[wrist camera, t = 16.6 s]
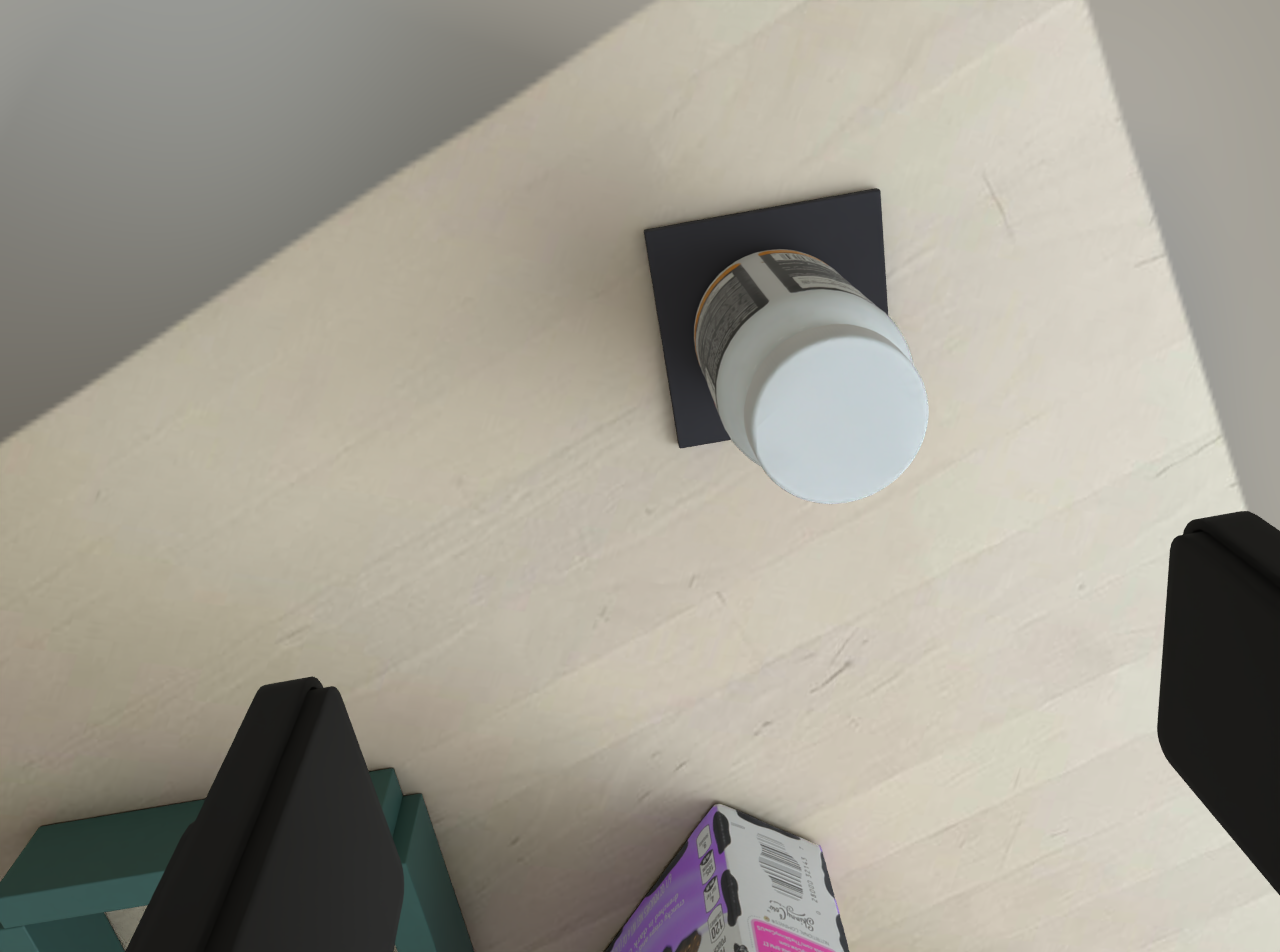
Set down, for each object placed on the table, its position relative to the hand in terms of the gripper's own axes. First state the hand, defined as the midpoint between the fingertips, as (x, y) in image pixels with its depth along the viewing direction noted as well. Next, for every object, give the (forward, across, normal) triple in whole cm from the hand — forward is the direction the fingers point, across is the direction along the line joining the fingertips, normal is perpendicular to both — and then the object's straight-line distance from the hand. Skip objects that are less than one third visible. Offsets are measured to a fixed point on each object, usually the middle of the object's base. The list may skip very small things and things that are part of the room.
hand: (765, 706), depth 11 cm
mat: (+24, -4, +3) cm, 25 cm away
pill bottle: (+24, -4, +3) cm, 25 cm away
